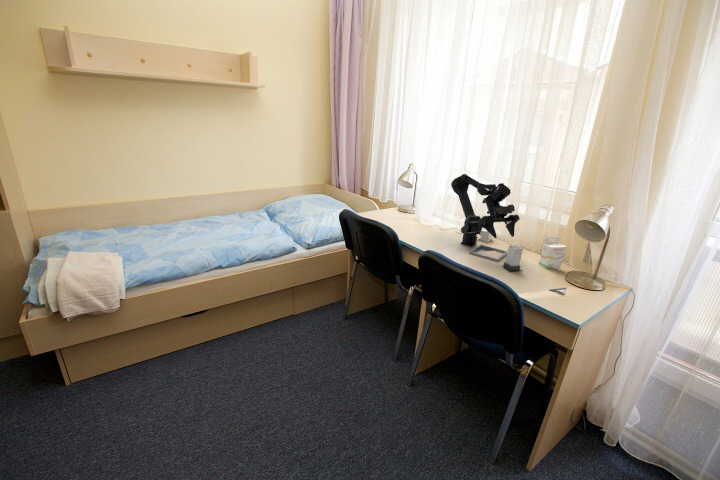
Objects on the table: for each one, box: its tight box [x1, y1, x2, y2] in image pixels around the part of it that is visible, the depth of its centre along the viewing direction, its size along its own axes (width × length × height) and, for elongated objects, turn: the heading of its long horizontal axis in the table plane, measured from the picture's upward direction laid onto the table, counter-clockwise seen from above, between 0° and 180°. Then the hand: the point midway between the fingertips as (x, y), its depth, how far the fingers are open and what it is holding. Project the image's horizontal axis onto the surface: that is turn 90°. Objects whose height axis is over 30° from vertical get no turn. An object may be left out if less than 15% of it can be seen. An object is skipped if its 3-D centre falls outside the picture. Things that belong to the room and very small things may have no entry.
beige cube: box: [479, 230, 493, 243], centre depth 187 cm, size 6×6×6 cm
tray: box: [468, 244, 508, 263], centre depth 164 cm, size 14×14×2 cm
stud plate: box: [500, 264, 524, 273], centre depth 149 cm, size 7×7×2 cm
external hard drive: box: [548, 287, 567, 295], centre depth 138 cm, size 2×8×12 cm
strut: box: [503, 244, 524, 271], centre depth 147 cm, size 5×5×10 cm
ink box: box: [538, 236, 568, 271], centre depth 151 cm, size 9×5×15 cm, turn 105°
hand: (504, 237), depth 152 cm, fingers open, 9 cm apart
